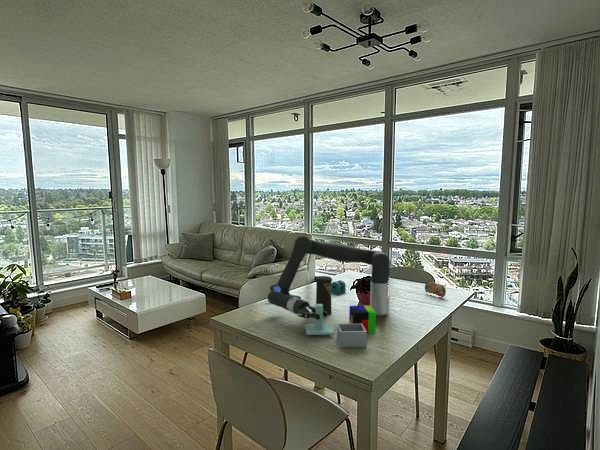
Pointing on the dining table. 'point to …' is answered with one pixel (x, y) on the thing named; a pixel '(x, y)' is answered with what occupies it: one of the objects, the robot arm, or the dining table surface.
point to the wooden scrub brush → (435, 288)
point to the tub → (351, 335)
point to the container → (324, 292)
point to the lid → (319, 324)
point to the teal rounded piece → (338, 287)
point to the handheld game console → (277, 288)
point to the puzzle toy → (363, 317)
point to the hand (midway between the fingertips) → (323, 316)
